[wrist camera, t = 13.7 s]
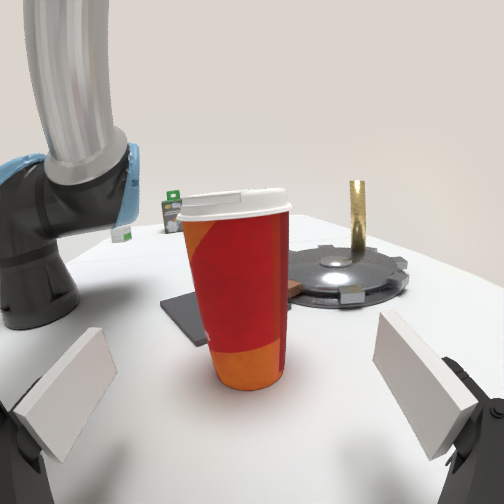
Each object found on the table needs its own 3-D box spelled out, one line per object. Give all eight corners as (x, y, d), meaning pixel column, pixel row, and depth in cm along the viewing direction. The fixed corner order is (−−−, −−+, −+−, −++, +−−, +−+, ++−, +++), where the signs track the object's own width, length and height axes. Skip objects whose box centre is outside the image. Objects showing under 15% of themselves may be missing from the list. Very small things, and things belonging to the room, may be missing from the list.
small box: (123, 242, 86) (121, 228, 84) (111, 243, 87) (109, 229, 85) (132, 238, 91) (130, 225, 90) (120, 239, 92) (118, 226, 91)
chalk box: (188, 227, 104) (184, 189, 100) (190, 230, 95) (185, 189, 92) (165, 230, 102) (161, 192, 98) (164, 234, 93) (160, 192, 89)
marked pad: (160, 305, 34) (159, 300, 34) (236, 283, 41) (236, 278, 41) (197, 346, 25) (195, 339, 24) (291, 308, 31) (291, 302, 31)
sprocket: (306, 321, 26) (303, 183, 23) (242, 264, 47) (235, 186, 44) (436, 276, 33) (441, 183, 29) (348, 245, 53) (346, 180, 50)
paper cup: (244, 335, 26) (230, 190, 23) (313, 358, 21) (312, 186, 18) (183, 375, 20) (150, 200, 17) (257, 416, 16) (235, 193, 12)
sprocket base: (235, 278, 43) (235, 275, 43) (326, 250, 55) (326, 248, 55) (351, 328, 25) (352, 324, 25) (425, 271, 37) (426, 268, 37)
